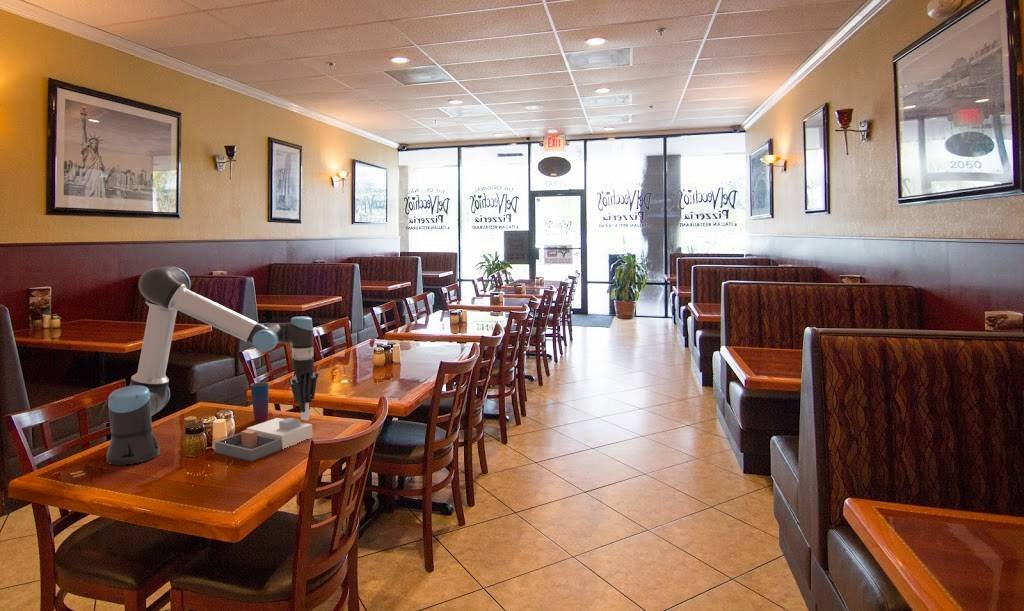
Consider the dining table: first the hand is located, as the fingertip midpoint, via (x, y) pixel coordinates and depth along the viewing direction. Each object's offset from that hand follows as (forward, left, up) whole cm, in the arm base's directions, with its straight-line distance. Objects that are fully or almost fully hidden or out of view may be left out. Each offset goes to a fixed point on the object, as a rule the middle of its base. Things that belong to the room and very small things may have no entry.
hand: (305, 419), depth 221 cm
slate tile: (0, -8, -1) cm, 8 cm away
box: (-4, -23, -6) cm, 24 cm away
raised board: (-4, -9, -6) cm, 11 cm away
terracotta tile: (-8, -18, -3) cm, 19 cm away
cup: (-29, +4, -6) cm, 30 cm away
